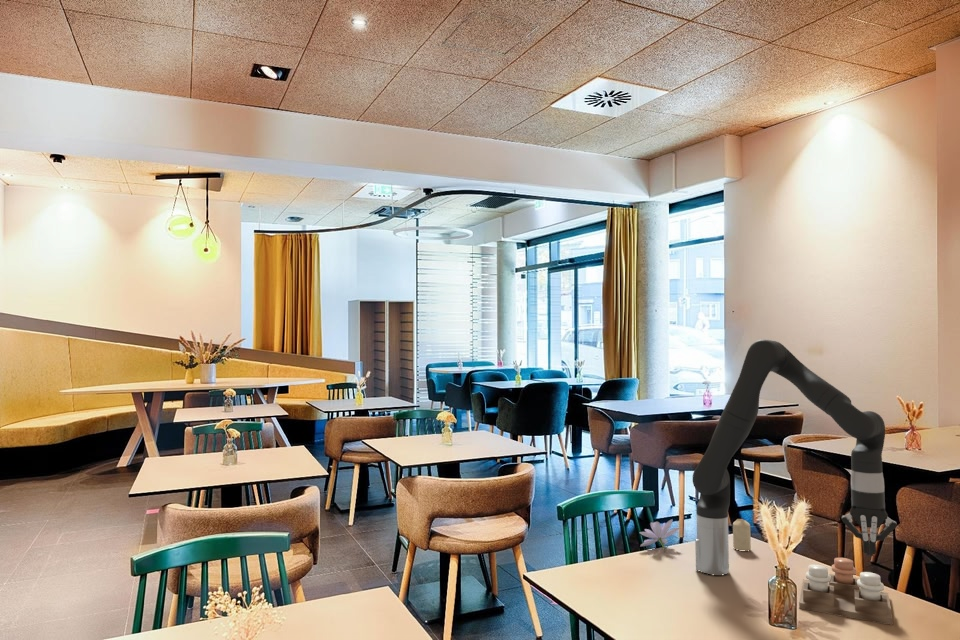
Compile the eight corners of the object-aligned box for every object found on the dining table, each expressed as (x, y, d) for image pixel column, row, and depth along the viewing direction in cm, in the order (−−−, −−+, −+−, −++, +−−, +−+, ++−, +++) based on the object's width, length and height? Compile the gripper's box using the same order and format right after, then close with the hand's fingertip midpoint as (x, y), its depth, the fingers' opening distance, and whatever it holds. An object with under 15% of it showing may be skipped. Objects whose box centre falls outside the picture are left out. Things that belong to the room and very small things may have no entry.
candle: (752, 552, 216) (751, 522, 216) (735, 551, 217) (734, 521, 217) (748, 547, 221) (748, 518, 222) (732, 546, 222) (731, 517, 223)
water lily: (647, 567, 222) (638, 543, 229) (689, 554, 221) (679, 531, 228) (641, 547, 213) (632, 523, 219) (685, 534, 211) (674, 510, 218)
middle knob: (831, 583, 178) (831, 561, 178) (832, 576, 183) (831, 555, 183) (856, 587, 175) (856, 565, 175) (856, 579, 180) (855, 558, 180)
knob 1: (805, 590, 172) (805, 569, 172) (806, 583, 177) (806, 562, 178) (831, 595, 169) (830, 572, 169) (831, 587, 175) (830, 565, 175)
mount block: (799, 608, 171) (798, 591, 171) (803, 584, 188) (802, 568, 188) (892, 625, 161) (892, 606, 161) (888, 598, 177) (887, 581, 177)
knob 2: (857, 599, 166) (856, 576, 167) (857, 591, 172) (856, 569, 172) (884, 604, 163) (884, 581, 164) (883, 595, 169) (882, 573, 169)
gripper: (838, 488, 168) (840, 555, 168) (898, 493, 162) (901, 563, 161) (838, 483, 175) (840, 547, 174) (896, 487, 168) (898, 554, 168)
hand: (869, 555), depth 168 cm, fingers closed
